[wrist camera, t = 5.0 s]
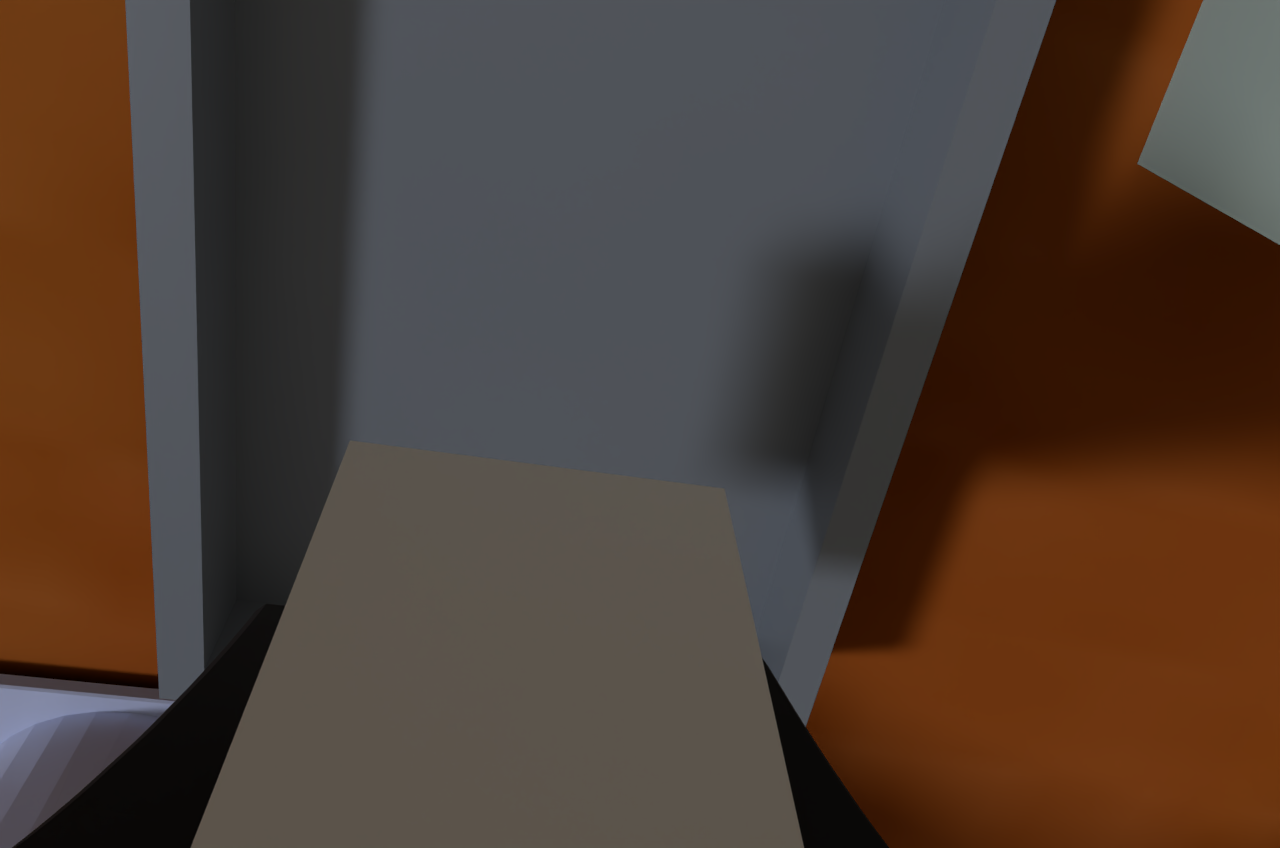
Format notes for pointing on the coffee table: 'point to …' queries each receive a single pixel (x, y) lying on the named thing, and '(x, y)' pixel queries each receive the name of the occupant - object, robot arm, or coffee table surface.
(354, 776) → the cream block
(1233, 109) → the sage block
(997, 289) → the coffee table surface
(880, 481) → the grey tray
